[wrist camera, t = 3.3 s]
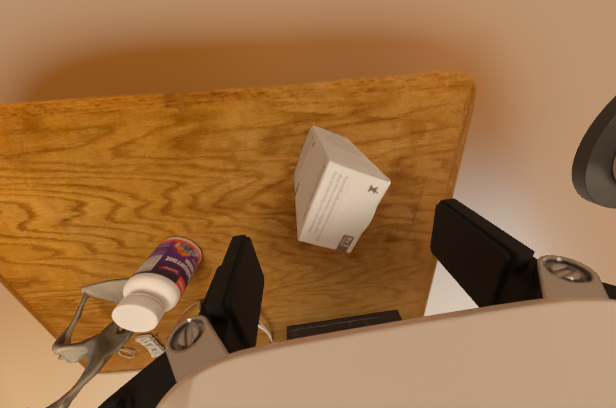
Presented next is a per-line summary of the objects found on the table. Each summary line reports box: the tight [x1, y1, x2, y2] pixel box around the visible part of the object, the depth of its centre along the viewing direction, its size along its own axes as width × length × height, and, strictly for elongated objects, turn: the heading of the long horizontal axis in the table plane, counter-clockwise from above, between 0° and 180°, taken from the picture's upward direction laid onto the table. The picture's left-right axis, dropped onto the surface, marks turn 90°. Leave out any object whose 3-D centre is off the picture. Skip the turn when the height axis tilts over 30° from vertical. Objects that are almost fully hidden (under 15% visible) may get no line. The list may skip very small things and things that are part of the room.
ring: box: [118, 349, 135, 358], centre depth 38 cm, size 3×1×3 cm
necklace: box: [135, 334, 165, 358], centre depth 37 cm, size 7×1×5 cm
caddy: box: [287, 310, 402, 340], centre depth 36 cm, size 19×7×8 cm, turn 99°
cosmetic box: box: [294, 125, 391, 253], centre depth 19 cm, size 6×4×12 cm
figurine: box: [46, 278, 134, 408], centre depth 26 cm, size 11×6×15 cm, turn 94°
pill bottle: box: [112, 237, 202, 332], centre depth 25 cm, size 5×5×10 cm
